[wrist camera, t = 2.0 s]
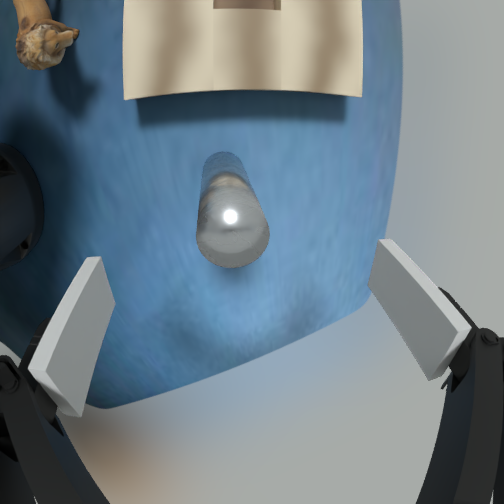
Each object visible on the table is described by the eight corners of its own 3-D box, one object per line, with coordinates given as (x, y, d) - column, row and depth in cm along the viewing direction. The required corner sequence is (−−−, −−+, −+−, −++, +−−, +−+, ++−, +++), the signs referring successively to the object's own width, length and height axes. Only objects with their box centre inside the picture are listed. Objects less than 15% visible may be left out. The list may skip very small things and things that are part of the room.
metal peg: (203, 191, 29) (199, 270, 17) (201, 153, 27) (193, 204, 15) (243, 189, 29) (268, 265, 17) (243, 150, 27) (270, 200, 15)
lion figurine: (106, 51, 20) (64, 38, 12) (64, 84, 21) (14, 87, 13) (57, -32, 13) (17, -56, 5) (20, 0, 13) (-26, -13, 6)
